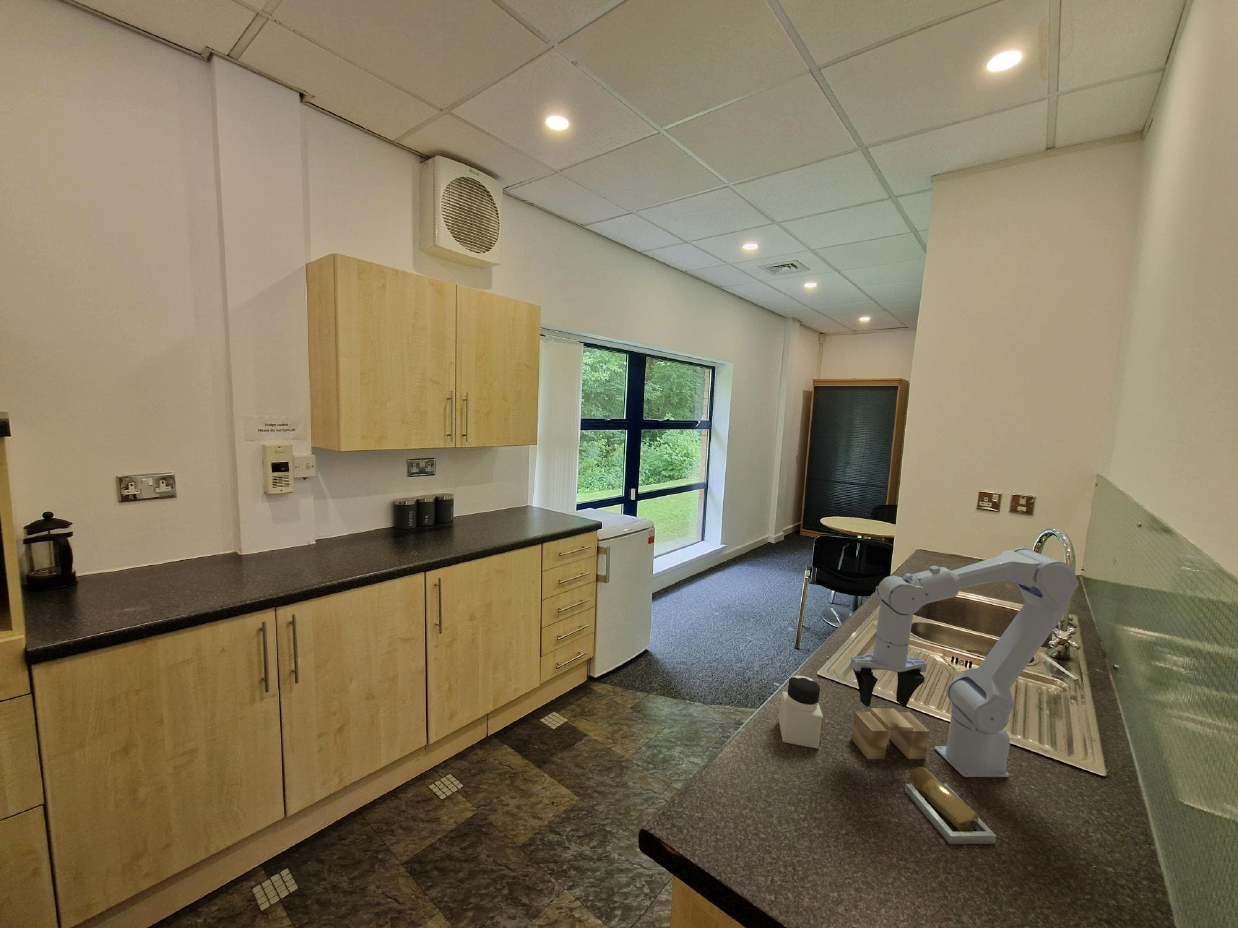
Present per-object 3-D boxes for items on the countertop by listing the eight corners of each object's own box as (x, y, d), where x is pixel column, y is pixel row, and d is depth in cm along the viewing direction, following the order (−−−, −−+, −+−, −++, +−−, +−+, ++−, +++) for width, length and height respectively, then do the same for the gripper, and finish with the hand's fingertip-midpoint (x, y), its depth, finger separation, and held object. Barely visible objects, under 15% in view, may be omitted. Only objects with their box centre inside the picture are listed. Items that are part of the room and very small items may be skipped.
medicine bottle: (819, 749, 98) (826, 693, 97) (782, 742, 100) (788, 687, 98) (813, 727, 105) (819, 674, 104) (778, 721, 107) (784, 669, 105)
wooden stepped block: (905, 738, 104) (909, 708, 103) (925, 758, 98) (930, 727, 97) (851, 738, 102) (855, 707, 102) (867, 758, 97) (872, 726, 96)
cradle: (945, 790, 90) (946, 783, 89) (994, 843, 79) (996, 835, 79) (904, 790, 89) (905, 783, 89) (949, 843, 78) (950, 836, 78)
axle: (905, 782, 90) (916, 763, 90) (920, 789, 91) (931, 770, 91) (954, 829, 80) (966, 808, 80) (970, 836, 81) (982, 815, 81)
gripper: (913, 630, 101) (904, 692, 102) (845, 628, 99) (837, 691, 101) (938, 647, 94) (928, 713, 95) (866, 645, 92) (856, 712, 94)
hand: (883, 703), depth 98 cm, fingers open, 7 cm apart
